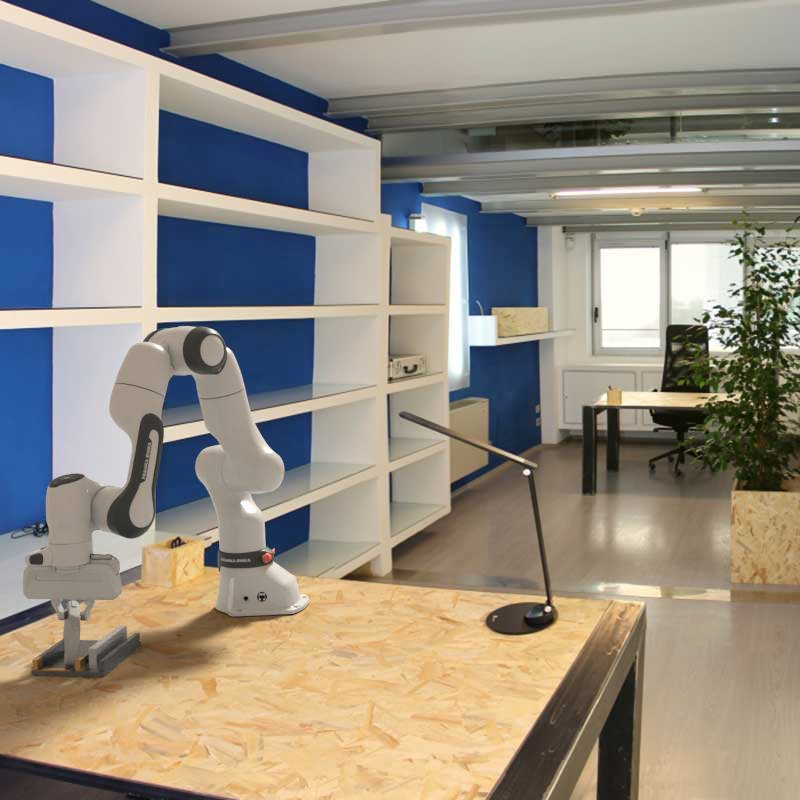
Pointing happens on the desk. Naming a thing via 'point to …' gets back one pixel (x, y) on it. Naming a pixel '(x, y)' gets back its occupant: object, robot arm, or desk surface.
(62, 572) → the robot arm
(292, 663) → the desk surface
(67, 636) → the game controller
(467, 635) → the desk surface
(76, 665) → the phone stand
